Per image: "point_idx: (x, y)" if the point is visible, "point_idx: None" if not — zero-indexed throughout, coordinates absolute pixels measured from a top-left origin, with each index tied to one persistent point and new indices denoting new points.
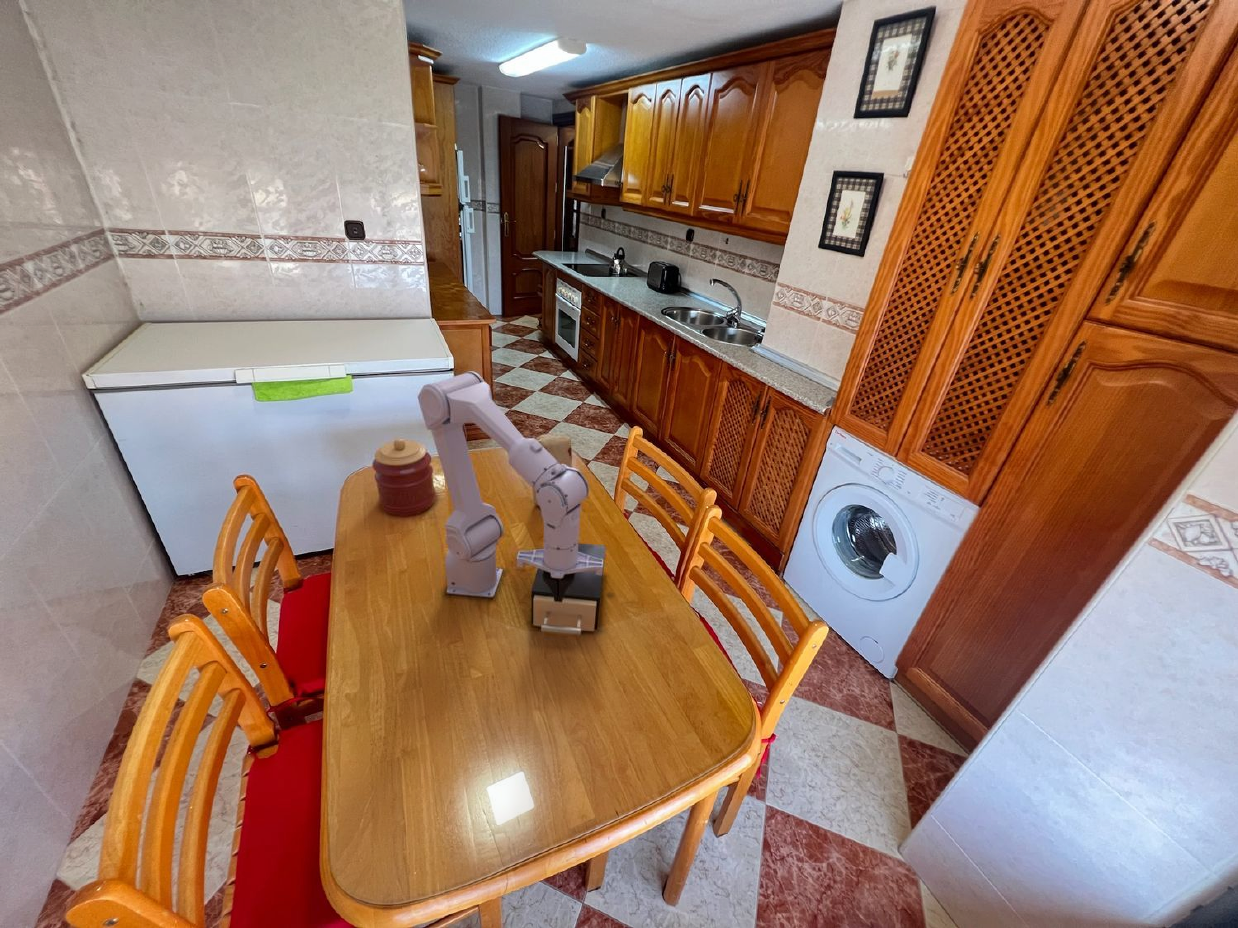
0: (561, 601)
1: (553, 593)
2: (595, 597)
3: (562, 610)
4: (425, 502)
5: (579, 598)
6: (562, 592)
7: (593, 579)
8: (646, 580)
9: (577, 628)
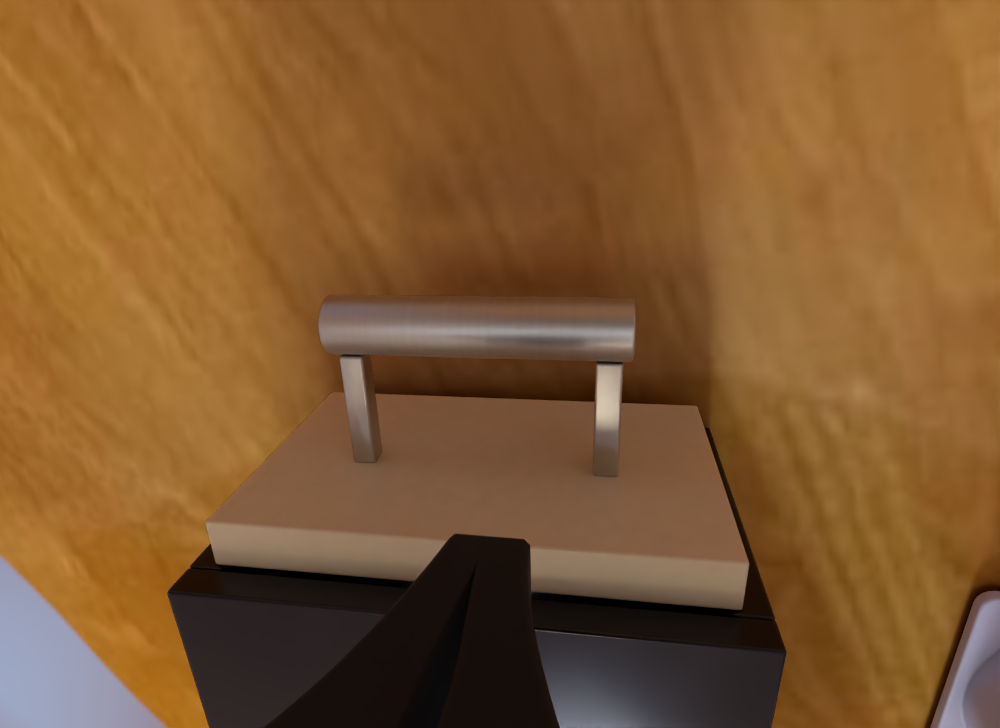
0: (450, 539)
1: (515, 633)
2: (204, 591)
3: (490, 485)
4: None
5: (343, 582)
6: (382, 650)
7: None
8: (183, 685)
9: (346, 336)
